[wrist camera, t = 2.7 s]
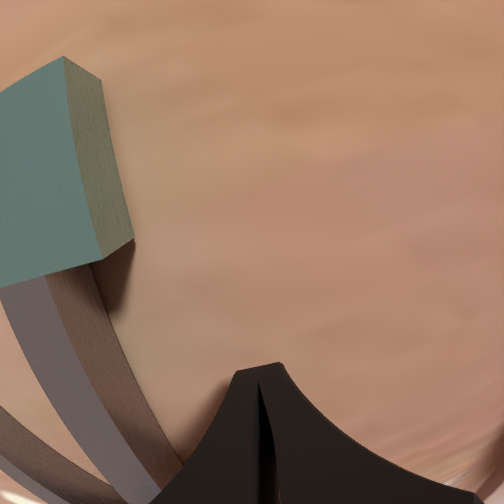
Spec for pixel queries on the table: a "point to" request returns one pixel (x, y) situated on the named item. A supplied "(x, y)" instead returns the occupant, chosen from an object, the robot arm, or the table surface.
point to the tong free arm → (73, 271)
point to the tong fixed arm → (48, 469)
